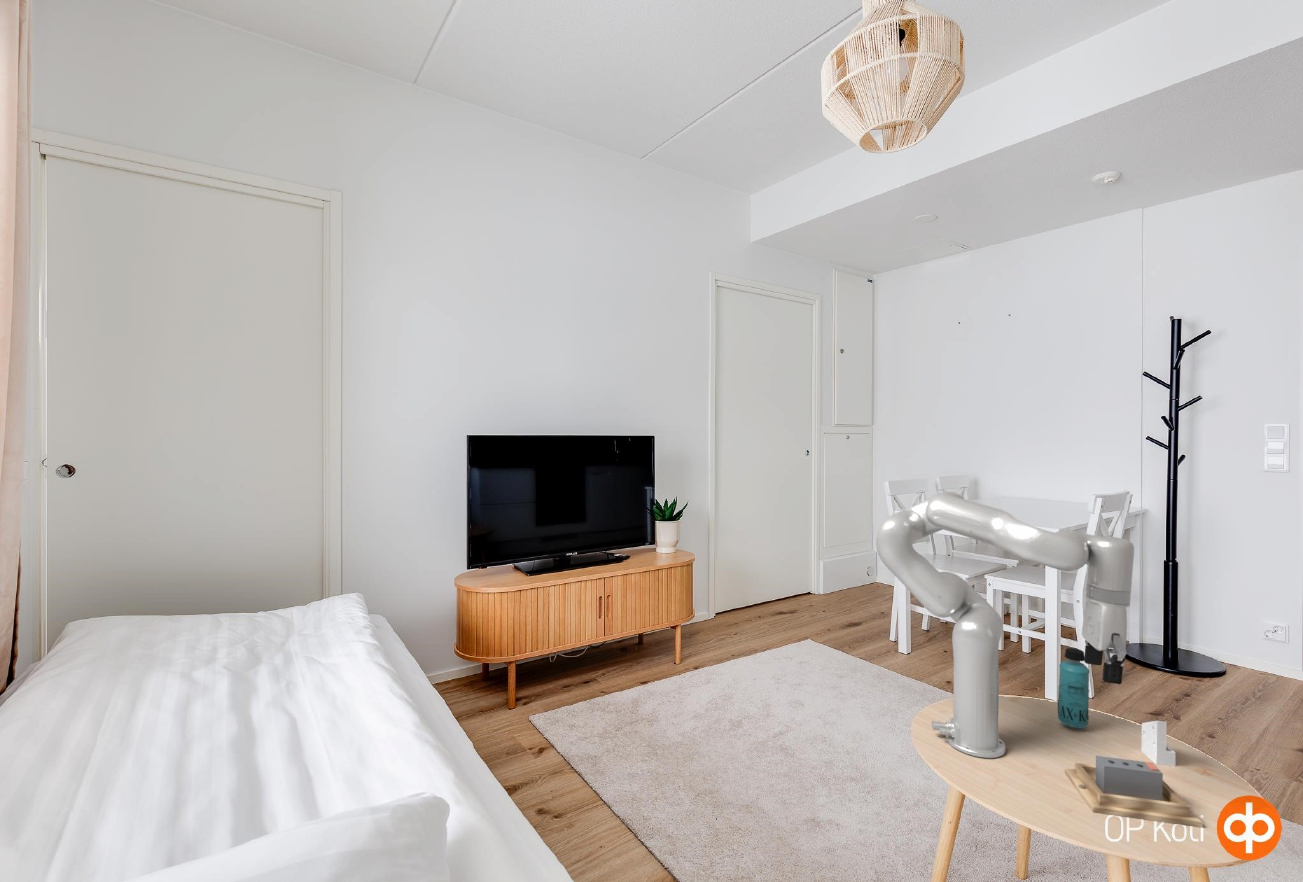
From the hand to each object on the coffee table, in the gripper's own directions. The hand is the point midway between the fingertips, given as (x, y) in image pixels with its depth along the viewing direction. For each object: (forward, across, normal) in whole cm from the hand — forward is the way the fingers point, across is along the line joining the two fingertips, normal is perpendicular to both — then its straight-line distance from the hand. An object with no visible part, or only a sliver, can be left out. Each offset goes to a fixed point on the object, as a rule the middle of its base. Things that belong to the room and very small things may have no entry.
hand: (1102, 673), depth 130 cm
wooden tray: (+23, +6, +4) cm, 24 cm away
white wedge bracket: (+23, -13, +17) cm, 31 cm away
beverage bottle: (+24, -24, +4) cm, 34 cm away
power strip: (+22, +6, +4) cm, 23 cm away
